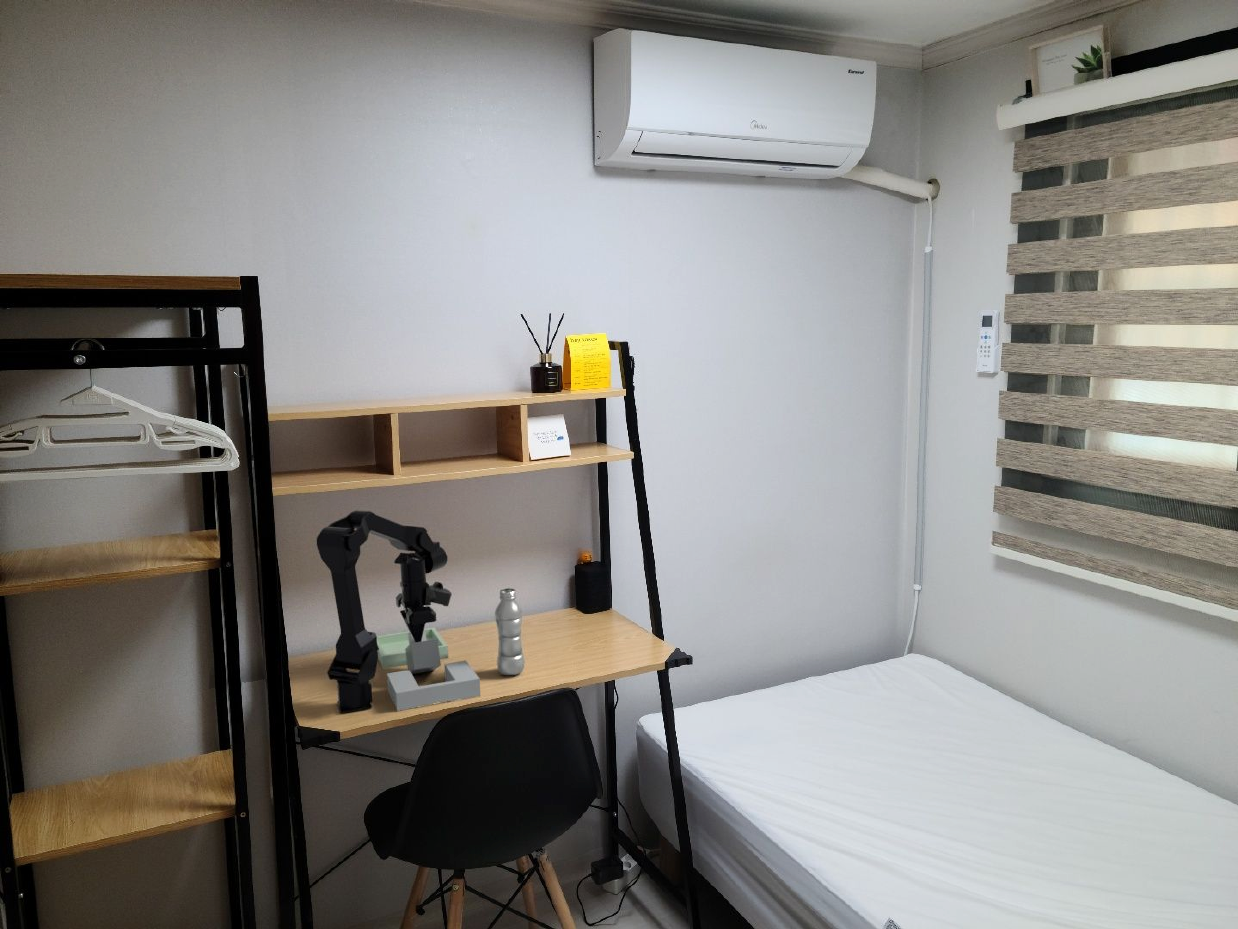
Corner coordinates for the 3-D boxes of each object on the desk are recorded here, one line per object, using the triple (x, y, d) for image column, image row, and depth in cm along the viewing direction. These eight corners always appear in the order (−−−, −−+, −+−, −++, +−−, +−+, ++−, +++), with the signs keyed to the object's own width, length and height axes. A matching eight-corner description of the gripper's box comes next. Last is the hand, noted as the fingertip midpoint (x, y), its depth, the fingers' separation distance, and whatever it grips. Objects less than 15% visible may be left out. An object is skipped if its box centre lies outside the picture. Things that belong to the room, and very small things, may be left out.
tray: (382, 668, 215) (381, 656, 215) (372, 648, 230) (371, 636, 229) (448, 657, 221) (447, 646, 221) (435, 638, 236) (434, 627, 235)
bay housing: (397, 711, 190) (396, 693, 190) (387, 690, 202) (386, 673, 201) (480, 696, 197) (479, 678, 197) (466, 676, 209) (465, 660, 208)
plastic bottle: (499, 680, 206) (495, 595, 203) (495, 669, 212) (491, 588, 210) (527, 676, 208) (524, 593, 205) (522, 666, 214) (518, 585, 211)
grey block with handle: (414, 669, 202) (408, 627, 205) (408, 674, 211) (403, 634, 213) (440, 665, 204) (435, 624, 207) (433, 670, 213) (428, 630, 216)
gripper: (456, 583, 206) (459, 648, 208) (439, 565, 223) (442, 626, 225) (407, 590, 202) (411, 656, 204) (393, 571, 219) (397, 633, 221)
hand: (417, 642), depth 214 cm, fingers closed on grey block with handle, 2 cm apart
